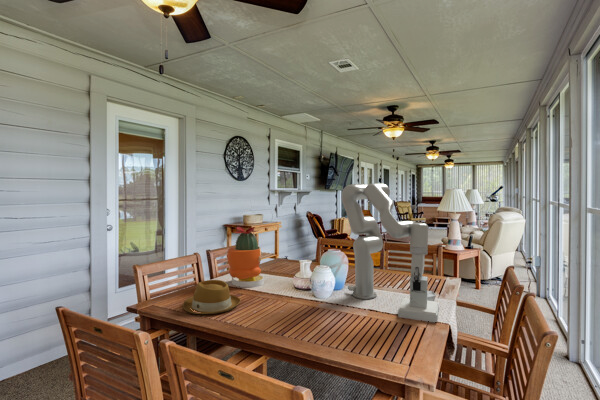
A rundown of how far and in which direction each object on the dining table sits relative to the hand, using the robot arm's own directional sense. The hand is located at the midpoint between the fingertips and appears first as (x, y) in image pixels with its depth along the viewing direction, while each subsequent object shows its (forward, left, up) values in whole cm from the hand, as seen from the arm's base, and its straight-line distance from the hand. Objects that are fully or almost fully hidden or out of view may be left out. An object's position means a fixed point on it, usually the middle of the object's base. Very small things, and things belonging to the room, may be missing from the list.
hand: (417, 287), depth 152 cm
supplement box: (0, -1, -8) cm, 8 cm away
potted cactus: (-100, +9, -12) cm, 101 cm away
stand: (+1, 0, -12) cm, 12 cm away
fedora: (-94, -29, -13) cm, 100 cm away
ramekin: (+1, +15, -12) cm, 19 cm away
